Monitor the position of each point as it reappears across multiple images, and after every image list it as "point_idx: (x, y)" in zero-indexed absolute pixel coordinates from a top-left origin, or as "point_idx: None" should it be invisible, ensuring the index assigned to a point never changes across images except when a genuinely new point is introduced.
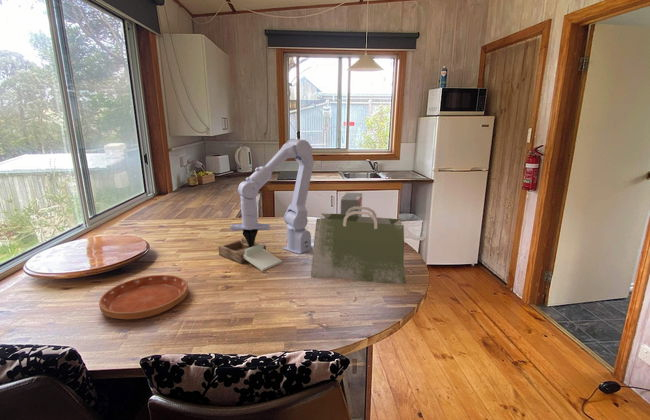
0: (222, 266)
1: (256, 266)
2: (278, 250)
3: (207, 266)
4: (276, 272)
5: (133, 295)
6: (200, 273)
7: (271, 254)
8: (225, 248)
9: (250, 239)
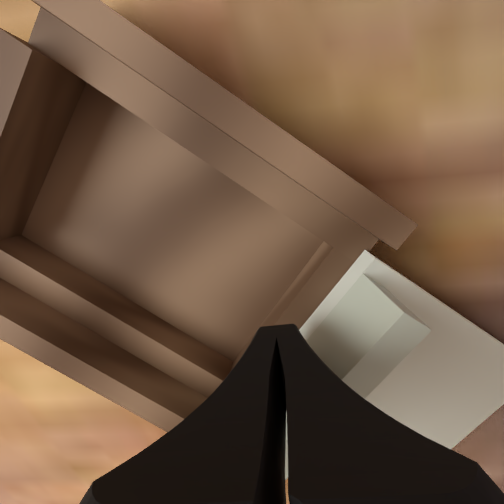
0: (124, 424)
1: None
2: (488, 91)
3: (36, 426)
4: None
5: None
6: (55, 498)
7: (464, 325)
8: (10, 340)
9: (279, 455)
